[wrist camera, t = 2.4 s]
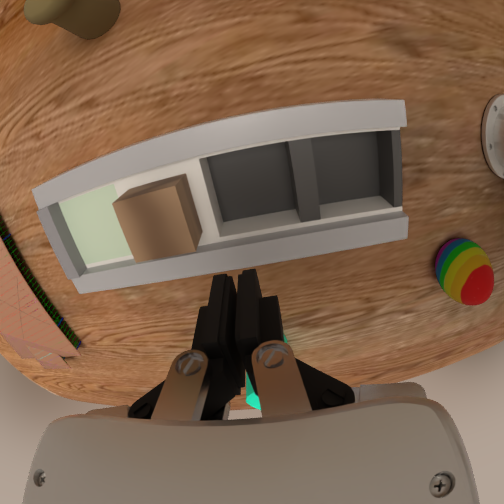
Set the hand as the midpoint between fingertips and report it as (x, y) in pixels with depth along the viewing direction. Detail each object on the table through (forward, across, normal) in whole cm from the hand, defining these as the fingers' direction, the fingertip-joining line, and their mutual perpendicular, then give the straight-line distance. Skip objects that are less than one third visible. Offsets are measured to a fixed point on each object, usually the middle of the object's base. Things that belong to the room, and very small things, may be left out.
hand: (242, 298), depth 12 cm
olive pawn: (+19, +12, -24) cm, 33 cm away
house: (+20, +47, +9) cm, 52 cm away
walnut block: (+15, +8, 0) cm, 17 cm away
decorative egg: (+19, -27, +15) cm, 36 cm away
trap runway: (+19, +4, 0) cm, 19 cm away
